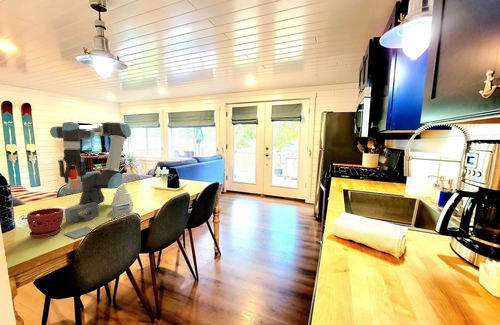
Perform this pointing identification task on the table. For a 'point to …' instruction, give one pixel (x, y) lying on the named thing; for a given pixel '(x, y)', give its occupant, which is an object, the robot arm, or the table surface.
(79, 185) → the tan block
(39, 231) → the plant pot
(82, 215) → the bar
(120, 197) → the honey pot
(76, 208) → the block
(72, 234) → the slate tile
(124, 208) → the medicine box
